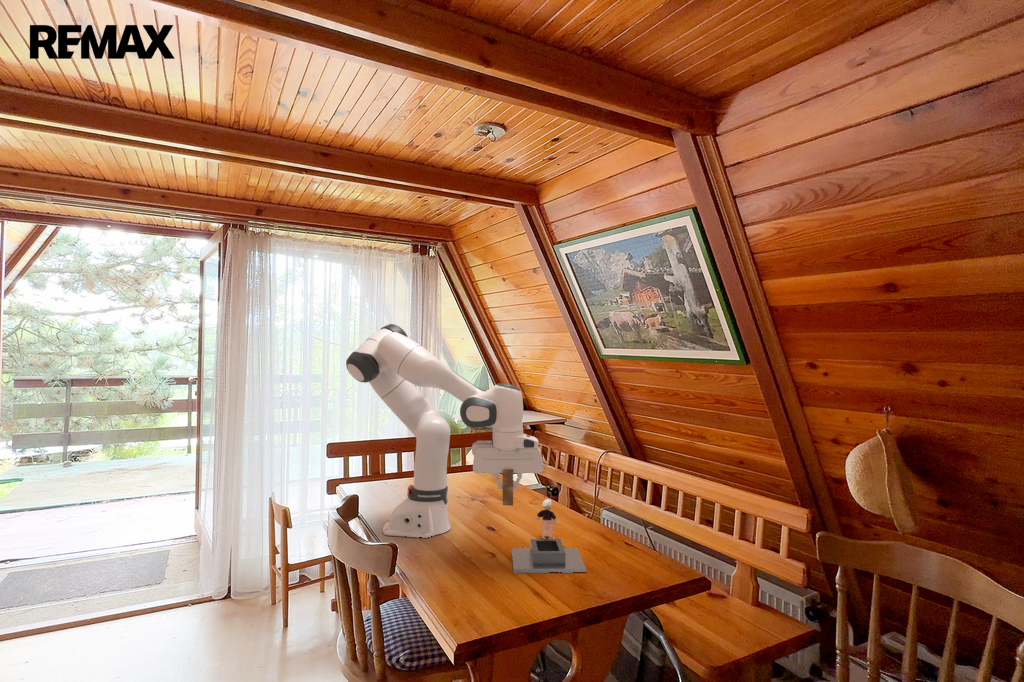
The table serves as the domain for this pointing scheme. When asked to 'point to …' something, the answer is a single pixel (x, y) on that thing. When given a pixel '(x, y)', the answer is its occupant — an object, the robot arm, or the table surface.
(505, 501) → the walnut wedge
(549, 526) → the grandmother figurine
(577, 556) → the grey socket base
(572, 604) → the table surface
